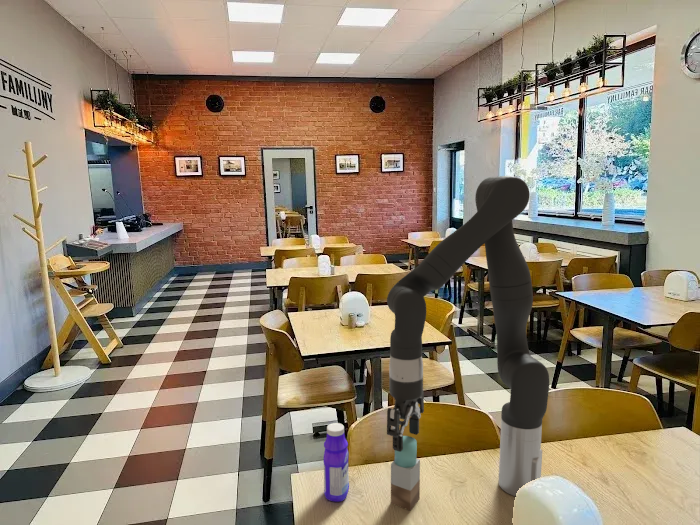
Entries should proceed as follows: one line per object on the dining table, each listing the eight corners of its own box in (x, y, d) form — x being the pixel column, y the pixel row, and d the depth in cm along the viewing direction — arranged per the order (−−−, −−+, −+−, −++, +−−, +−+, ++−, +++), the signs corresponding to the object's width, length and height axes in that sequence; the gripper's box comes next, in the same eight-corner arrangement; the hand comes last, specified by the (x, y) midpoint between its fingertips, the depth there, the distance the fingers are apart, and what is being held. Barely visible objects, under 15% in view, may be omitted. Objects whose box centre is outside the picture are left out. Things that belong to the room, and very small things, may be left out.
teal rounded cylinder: (419, 459, 112) (420, 439, 111) (410, 470, 107) (411, 449, 107) (400, 453, 114) (400, 433, 114) (390, 463, 110) (390, 443, 109)
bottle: (345, 505, 111) (344, 435, 108) (321, 502, 112) (319, 433, 109) (351, 486, 118) (350, 420, 115) (328, 484, 119) (327, 418, 116)
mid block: (419, 479, 112) (419, 459, 112) (410, 490, 108) (410, 470, 107) (400, 472, 115) (400, 453, 114) (390, 483, 111) (390, 463, 110)
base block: (419, 498, 113) (419, 479, 112) (410, 510, 109) (410, 490, 108) (400, 491, 116) (400, 472, 115) (390, 503, 112) (390, 483, 111)
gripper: (407, 389, 100) (407, 461, 102) (434, 366, 111) (433, 432, 114) (375, 381, 104) (376, 451, 106) (405, 361, 115) (405, 424, 118)
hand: (406, 441), depth 110 cm, fingers open, 8 cm apart
